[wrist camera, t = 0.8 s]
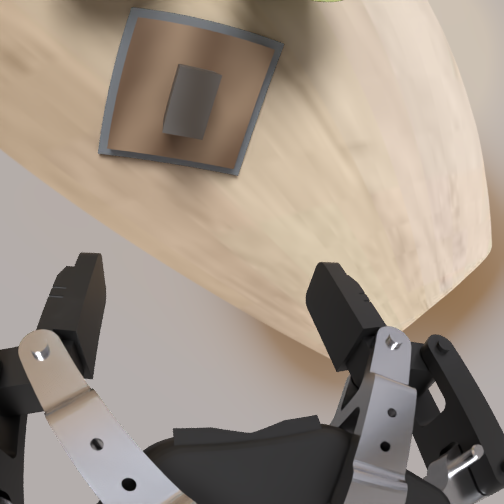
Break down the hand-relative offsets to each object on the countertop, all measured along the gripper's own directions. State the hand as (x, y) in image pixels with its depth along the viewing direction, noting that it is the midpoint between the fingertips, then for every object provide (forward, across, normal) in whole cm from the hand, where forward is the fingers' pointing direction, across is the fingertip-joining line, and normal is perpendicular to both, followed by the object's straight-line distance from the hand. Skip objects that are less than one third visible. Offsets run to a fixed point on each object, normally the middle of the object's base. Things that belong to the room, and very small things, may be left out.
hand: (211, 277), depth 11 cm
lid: (+20, +1, -5) cm, 20 cm away
